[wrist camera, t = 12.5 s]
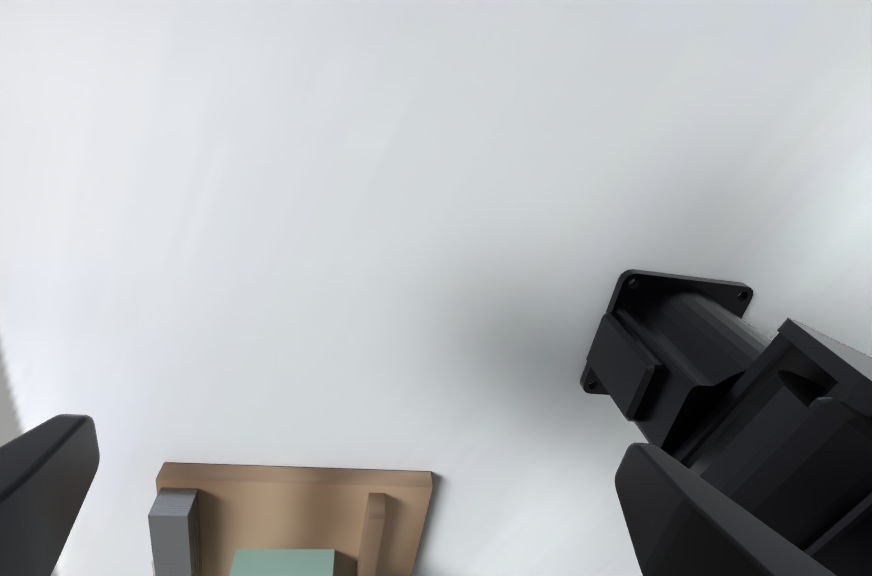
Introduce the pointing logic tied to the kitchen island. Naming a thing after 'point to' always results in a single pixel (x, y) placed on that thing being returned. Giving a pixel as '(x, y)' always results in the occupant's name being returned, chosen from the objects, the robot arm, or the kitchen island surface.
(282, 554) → the product carton
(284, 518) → the shelf
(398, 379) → the kitchen island surface
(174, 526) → the price rail
